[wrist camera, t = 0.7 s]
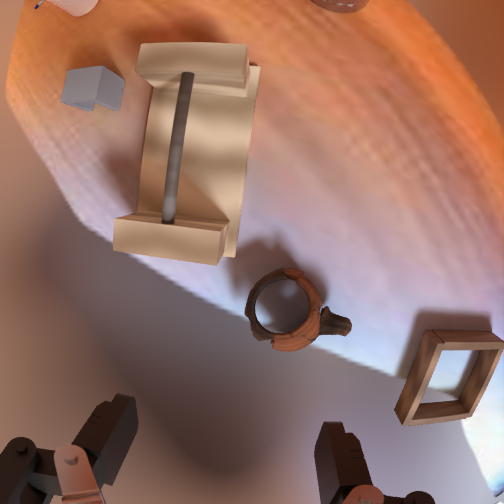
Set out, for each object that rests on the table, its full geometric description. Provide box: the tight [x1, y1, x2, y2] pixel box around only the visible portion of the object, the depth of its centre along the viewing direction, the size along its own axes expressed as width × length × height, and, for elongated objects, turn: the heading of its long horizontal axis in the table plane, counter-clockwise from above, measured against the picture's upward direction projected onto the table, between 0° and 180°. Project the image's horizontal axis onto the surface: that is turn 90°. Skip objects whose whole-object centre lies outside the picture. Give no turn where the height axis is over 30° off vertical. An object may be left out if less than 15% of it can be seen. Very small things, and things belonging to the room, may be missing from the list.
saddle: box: [61, 66, 125, 111], centre depth 30 cm, size 4×5×6 cm
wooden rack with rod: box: [113, 42, 260, 266], centre depth 30 cm, size 22×12×9 cm, turn 173°
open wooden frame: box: [394, 330, 504, 426], centre depth 37 cm, size 14×14×4 cm
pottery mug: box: [245, 269, 352, 352], centre depth 35 cm, size 12×9×8 cm
